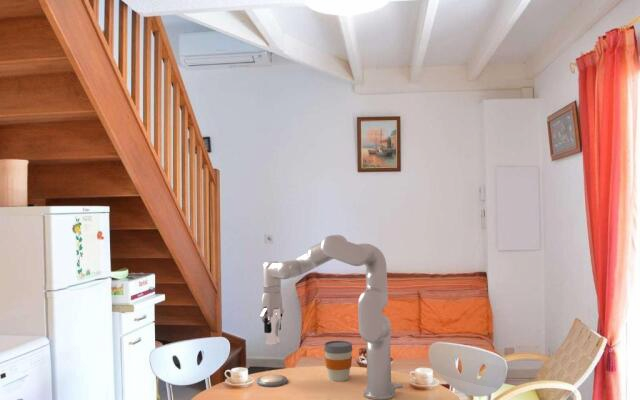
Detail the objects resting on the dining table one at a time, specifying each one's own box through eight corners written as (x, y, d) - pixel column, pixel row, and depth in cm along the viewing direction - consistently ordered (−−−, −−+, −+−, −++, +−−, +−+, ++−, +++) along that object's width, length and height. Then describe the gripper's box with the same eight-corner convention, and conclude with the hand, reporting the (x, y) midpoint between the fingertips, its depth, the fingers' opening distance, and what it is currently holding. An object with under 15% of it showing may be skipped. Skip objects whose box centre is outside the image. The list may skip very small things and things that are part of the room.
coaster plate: (283, 376, 223) (283, 372, 223) (290, 384, 211) (289, 381, 211) (254, 379, 219) (254, 375, 219) (259, 388, 207) (259, 384, 207)
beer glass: (278, 345, 211) (277, 309, 212) (262, 344, 213) (262, 309, 214) (282, 341, 218) (282, 306, 219) (267, 340, 219) (267, 306, 220)
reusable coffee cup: (321, 381, 214) (320, 346, 215) (329, 373, 226) (328, 339, 227) (349, 383, 211) (348, 347, 212) (355, 374, 223) (355, 341, 224)
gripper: (276, 287, 226) (277, 326, 225) (253, 291, 211) (253, 334, 210) (290, 287, 222) (291, 328, 221) (267, 292, 207) (267, 336, 206)
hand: (272, 330), depth 216 cm, fingers closed on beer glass, 6 cm apart
